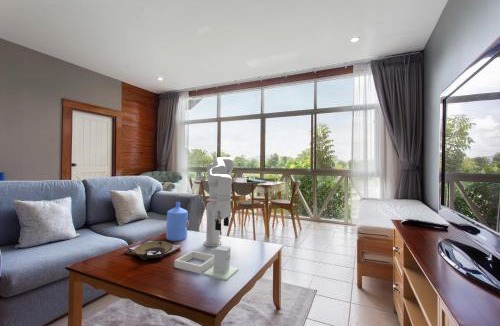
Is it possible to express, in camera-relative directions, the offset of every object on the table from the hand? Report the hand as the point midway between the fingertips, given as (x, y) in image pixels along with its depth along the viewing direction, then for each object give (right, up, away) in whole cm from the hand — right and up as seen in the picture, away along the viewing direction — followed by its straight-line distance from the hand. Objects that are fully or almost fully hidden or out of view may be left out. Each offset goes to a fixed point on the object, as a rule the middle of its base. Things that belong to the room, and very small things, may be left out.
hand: (222, 227), depth 142 cm
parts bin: (-16, -23, +7) cm, 29 cm away
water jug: (-41, -22, +54) cm, 71 cm away
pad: (0, -24, -2) cm, 24 cm away
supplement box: (0, -24, -1) cm, 24 cm away
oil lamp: (-47, -22, +16) cm, 54 cm away
